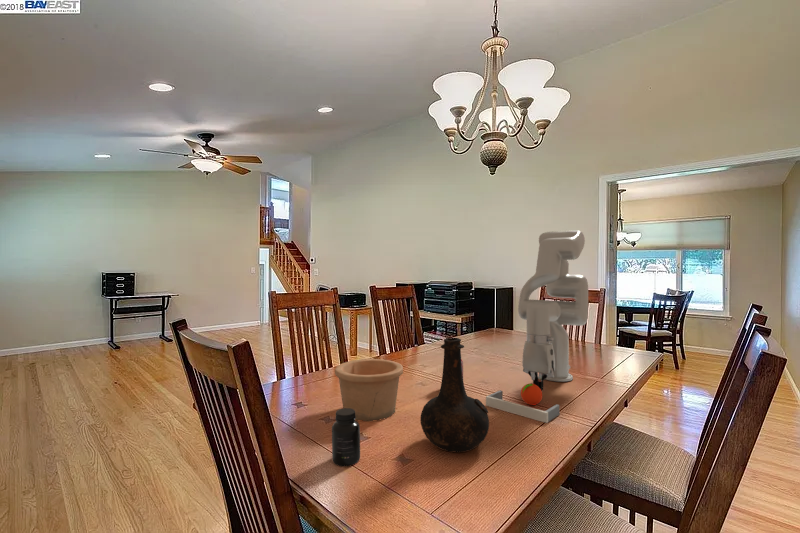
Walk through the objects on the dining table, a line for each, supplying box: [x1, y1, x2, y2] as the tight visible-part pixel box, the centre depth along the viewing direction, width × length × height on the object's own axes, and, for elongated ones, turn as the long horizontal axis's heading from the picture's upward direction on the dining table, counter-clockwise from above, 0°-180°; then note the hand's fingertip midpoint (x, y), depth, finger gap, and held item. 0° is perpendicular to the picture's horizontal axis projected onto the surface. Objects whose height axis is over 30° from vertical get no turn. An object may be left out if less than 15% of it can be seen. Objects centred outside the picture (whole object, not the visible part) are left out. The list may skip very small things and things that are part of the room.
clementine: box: [520, 382, 543, 406], centre depth 135 cm, size 8×7×7 cm
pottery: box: [334, 358, 404, 422], centre depth 130 cm, size 22×22×14 cm
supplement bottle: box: [331, 407, 361, 467], centre depth 98 cm, size 7×7×12 cm
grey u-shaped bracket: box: [485, 389, 560, 424], centre depth 130 cm, size 9×21×3 cm, turn 45°
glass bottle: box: [419, 337, 490, 453], centre depth 106 cm, size 18×18×28 cm
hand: (538, 391), depth 138 cm, fingers closed
